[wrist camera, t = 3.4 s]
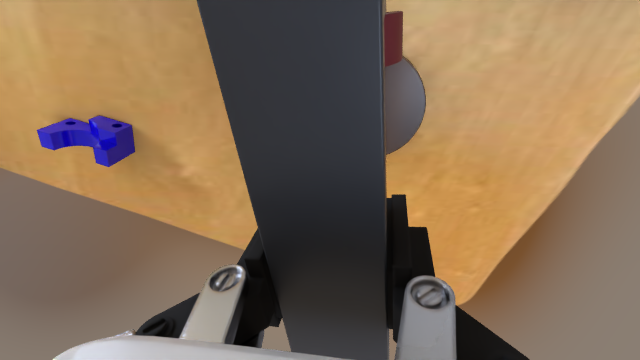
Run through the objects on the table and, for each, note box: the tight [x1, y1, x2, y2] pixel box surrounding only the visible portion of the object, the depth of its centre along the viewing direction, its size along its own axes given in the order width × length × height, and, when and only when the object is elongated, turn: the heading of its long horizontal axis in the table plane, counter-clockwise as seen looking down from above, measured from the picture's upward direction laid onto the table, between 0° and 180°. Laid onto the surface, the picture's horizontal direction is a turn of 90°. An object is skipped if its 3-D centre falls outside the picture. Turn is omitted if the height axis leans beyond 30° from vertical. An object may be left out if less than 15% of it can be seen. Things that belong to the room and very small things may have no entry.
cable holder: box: [37, 115, 135, 167], centre depth 34 cm, size 8×4×4 cm, turn 77°
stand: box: [385, 55, 426, 155], centre depth 20 cm, size 10×10×20 cm
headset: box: [197, 0, 403, 360], centre depth 16 cm, size 5×17×14 cm, turn 7°
